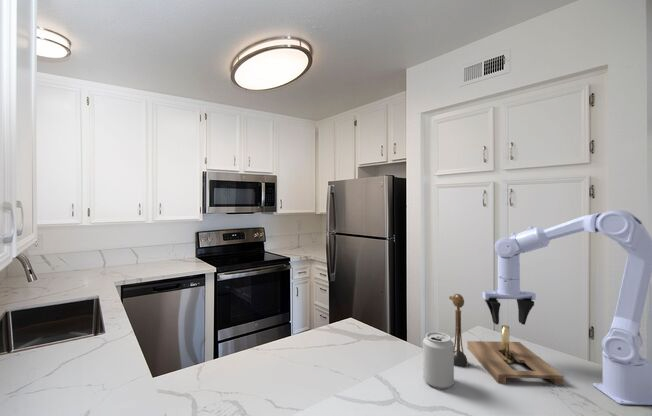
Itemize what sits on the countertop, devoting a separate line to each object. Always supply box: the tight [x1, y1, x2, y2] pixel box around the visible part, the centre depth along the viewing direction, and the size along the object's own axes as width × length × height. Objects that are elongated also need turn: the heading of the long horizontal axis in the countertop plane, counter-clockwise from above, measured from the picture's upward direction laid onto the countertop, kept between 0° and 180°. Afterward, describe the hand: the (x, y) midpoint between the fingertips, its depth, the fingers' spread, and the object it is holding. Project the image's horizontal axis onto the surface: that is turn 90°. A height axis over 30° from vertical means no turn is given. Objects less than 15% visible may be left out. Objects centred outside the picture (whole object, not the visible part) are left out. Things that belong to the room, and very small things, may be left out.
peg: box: [501, 324, 514, 365], centre depth 93 cm, size 4×4×10 cm
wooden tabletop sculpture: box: [448, 293, 468, 368], centre depth 92 cm, size 6×5×20 cm
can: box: [422, 331, 455, 389], centre depth 82 cm, size 8×8×12 cm
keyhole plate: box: [466, 340, 564, 386], centre depth 91 cm, size 16×20×2 cm
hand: (508, 323), depth 95 cm, fingers open, 7 cm apart
